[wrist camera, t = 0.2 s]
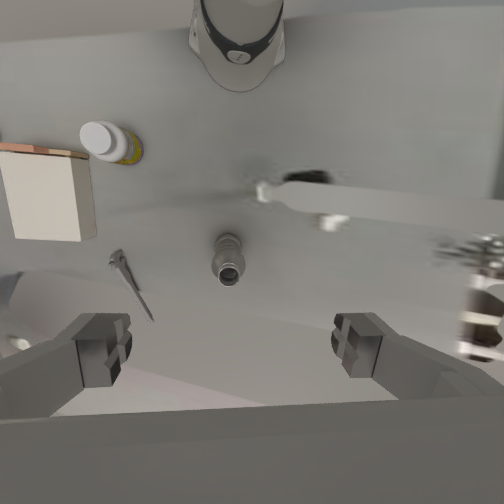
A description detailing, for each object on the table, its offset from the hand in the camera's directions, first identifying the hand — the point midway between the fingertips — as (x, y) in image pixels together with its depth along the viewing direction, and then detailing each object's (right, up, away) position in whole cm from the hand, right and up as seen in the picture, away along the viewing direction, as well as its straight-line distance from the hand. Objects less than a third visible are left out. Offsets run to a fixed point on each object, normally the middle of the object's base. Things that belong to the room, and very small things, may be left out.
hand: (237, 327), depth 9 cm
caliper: (-28, -6, +49) cm, 57 cm away
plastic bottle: (-5, +5, +48) cm, 49 cm away
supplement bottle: (-26, +25, +40) cm, 54 cm away
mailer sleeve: (-40, +15, +41) cm, 59 cm away
